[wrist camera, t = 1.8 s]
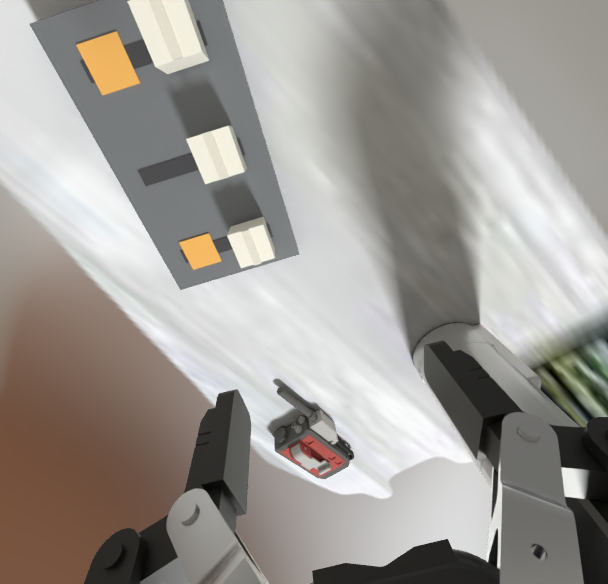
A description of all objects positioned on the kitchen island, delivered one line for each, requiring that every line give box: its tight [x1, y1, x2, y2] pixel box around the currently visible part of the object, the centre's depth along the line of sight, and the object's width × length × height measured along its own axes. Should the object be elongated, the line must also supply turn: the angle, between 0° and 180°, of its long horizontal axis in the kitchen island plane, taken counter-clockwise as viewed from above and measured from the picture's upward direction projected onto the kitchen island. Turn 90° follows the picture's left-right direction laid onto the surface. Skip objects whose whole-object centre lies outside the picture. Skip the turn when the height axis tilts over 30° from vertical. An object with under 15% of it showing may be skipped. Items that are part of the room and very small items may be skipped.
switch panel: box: [30, 0, 299, 290], centre depth 24 cm, size 12×20×2 cm, turn 15°
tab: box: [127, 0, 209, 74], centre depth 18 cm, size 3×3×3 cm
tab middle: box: [186, 126, 247, 184], centre depth 21 cm, size 3×3×3 cm
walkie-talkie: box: [275, 388, 354, 479], centre depth 42 cm, size 9×4×20 cm
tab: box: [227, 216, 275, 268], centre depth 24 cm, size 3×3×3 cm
